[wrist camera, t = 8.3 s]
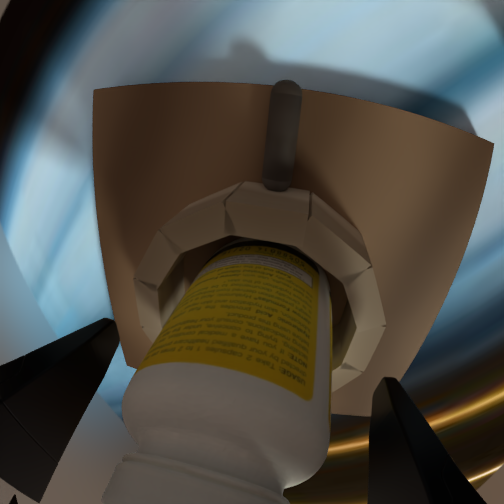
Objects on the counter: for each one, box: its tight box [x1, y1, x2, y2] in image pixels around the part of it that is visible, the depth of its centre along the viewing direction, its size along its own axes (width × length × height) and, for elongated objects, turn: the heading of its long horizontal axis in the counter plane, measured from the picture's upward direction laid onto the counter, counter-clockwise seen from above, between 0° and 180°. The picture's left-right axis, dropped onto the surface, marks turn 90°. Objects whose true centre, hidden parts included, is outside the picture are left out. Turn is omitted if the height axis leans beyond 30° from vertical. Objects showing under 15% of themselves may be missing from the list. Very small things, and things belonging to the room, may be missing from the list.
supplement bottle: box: [101, 237, 333, 504], centre depth 8 cm, size 5×5×10 cm
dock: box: [93, 80, 494, 416], centre depth 12 cm, size 16×16×4 cm
